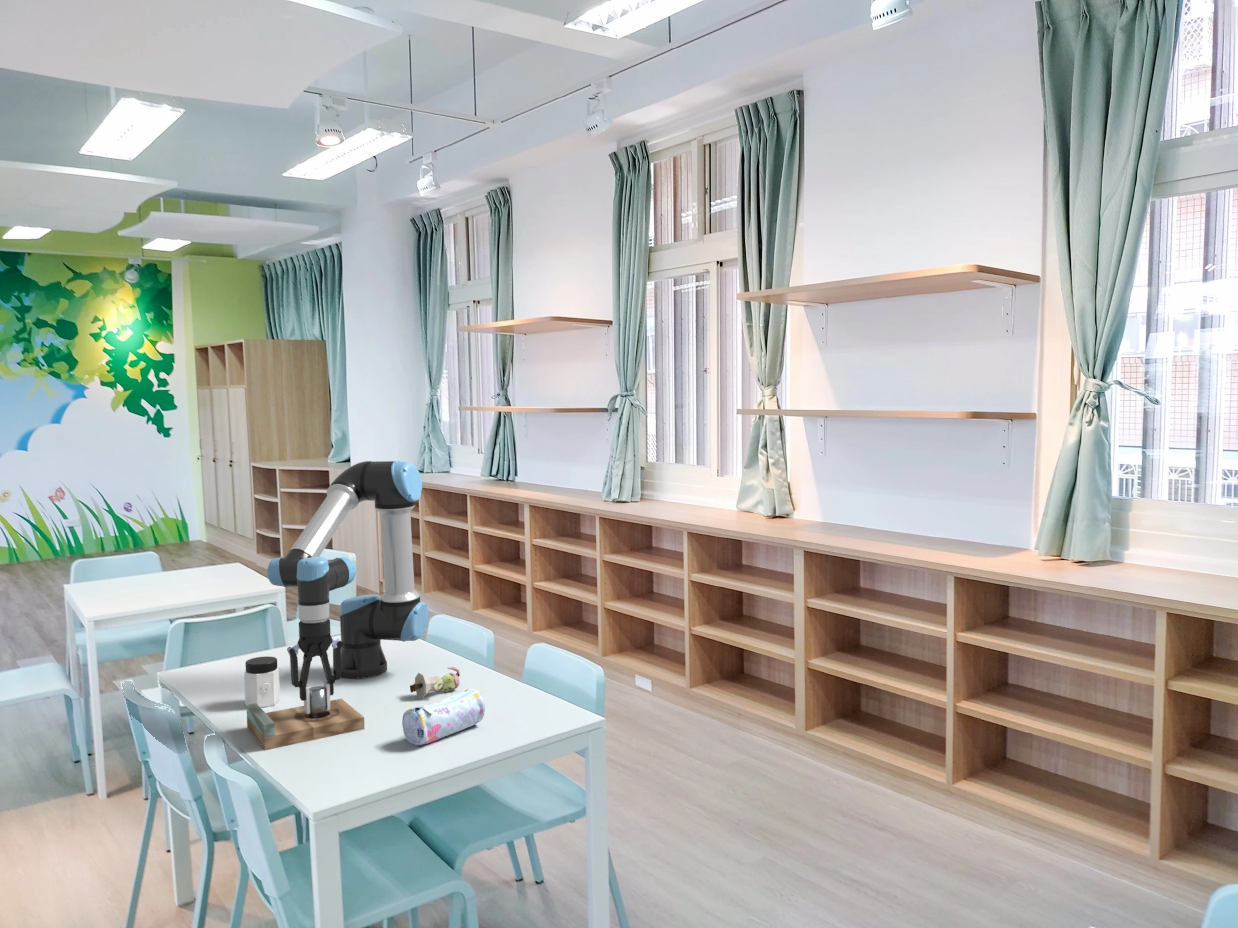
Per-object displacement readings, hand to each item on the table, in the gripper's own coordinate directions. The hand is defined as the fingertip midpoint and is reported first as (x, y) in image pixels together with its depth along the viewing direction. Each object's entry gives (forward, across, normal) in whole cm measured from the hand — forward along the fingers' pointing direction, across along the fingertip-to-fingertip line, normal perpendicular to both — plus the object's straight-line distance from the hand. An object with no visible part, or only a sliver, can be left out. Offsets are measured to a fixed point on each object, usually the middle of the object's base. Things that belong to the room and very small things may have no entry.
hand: (317, 709), depth 231 cm
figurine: (+4, -35, -6) cm, 36 cm away
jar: (+4, +7, -27) cm, 28 cm away
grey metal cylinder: (+2, 0, 0) cm, 2 cm away
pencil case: (+5, -24, +24) cm, 34 cm away
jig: (+4, +3, 0) cm, 5 cm away
